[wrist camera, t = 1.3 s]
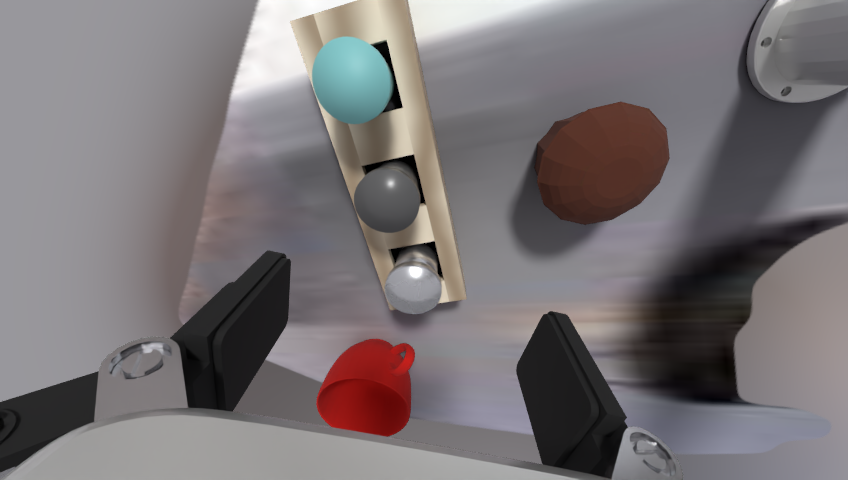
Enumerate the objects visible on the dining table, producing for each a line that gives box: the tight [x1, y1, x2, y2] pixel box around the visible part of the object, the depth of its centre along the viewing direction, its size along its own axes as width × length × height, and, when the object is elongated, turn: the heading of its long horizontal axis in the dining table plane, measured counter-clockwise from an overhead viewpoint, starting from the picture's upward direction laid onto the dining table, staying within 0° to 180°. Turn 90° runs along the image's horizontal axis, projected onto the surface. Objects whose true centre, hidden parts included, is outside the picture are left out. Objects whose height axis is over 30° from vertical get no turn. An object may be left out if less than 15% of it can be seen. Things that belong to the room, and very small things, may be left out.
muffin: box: [534, 102, 669, 225], centre depth 31 cm, size 12×11×10 cm
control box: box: [290, 0, 466, 310], centre depth 35 cm, size 10×32×5 cm, turn 13°
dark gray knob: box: [354, 160, 420, 233], centre depth 31 cm, size 6×6×6 cm
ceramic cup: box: [317, 339, 415, 437], centre depth 46 cm, size 13×17×10 cm
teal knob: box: [312, 37, 394, 124], centre depth 27 cm, size 6×6×6 cm
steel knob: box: [384, 244, 442, 314], centre depth 35 cm, size 6×6×6 cm
